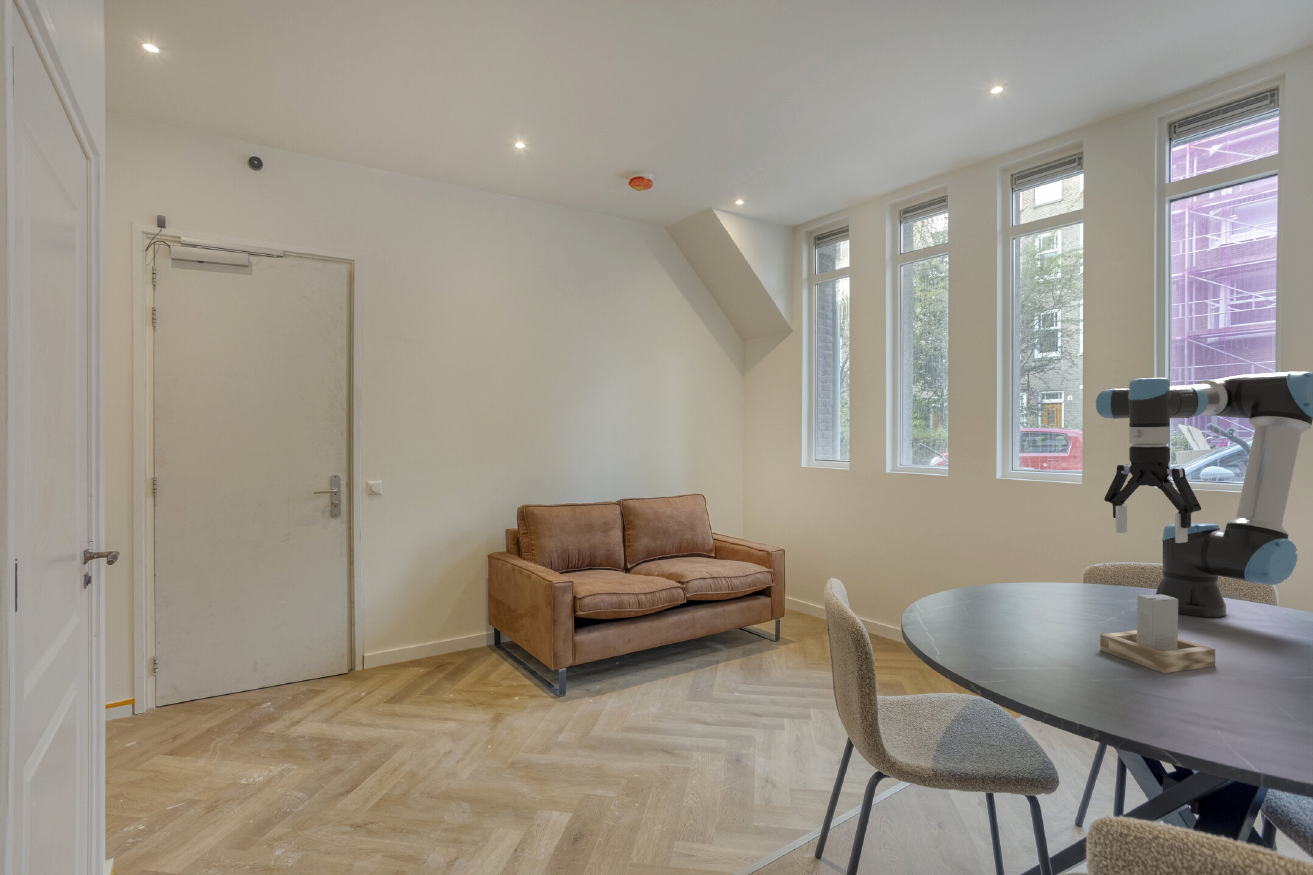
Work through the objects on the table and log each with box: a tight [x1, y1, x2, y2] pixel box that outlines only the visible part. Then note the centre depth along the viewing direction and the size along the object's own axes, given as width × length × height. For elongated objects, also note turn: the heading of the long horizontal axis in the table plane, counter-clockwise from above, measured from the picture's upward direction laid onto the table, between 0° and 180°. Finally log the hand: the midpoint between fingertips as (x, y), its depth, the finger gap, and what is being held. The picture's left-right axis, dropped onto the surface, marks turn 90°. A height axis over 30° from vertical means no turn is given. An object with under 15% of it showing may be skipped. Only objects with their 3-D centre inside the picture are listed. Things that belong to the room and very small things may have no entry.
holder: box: [1099, 629, 1216, 674], centre depth 142 cm, size 14×14×4 cm
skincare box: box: [1136, 594, 1179, 652], centre depth 142 cm, size 6×4×12 cm
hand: (1150, 537), depth 153 cm, fingers open, 13 cm apart
